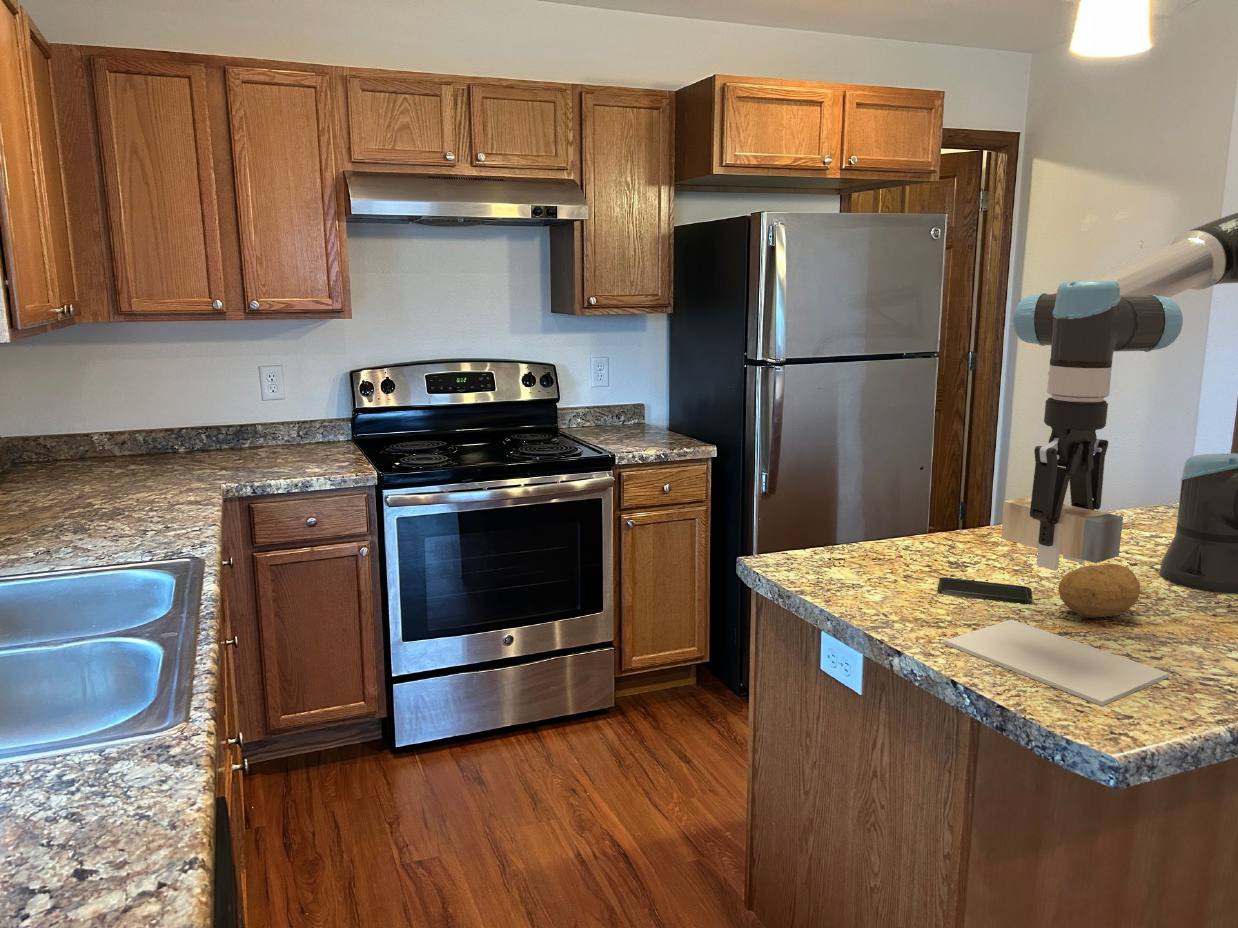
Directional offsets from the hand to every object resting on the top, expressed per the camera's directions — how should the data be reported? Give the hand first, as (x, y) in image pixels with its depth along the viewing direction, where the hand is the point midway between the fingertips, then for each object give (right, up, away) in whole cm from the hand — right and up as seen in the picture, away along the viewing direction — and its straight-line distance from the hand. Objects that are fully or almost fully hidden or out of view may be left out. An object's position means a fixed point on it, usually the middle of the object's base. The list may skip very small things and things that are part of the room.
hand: (1060, 563), depth 127 cm
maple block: (-4, +6, +5) cm, 9 cm away
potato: (+15, -11, +20) cm, 28 cm away
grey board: (0, -14, +3) cm, 14 cm away
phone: (+2, -9, +31) cm, 33 cm away
